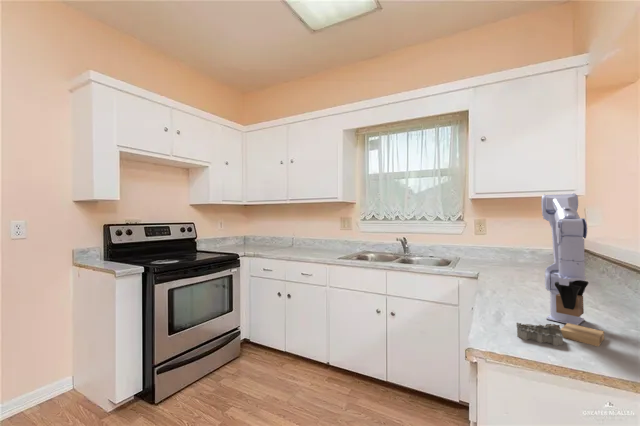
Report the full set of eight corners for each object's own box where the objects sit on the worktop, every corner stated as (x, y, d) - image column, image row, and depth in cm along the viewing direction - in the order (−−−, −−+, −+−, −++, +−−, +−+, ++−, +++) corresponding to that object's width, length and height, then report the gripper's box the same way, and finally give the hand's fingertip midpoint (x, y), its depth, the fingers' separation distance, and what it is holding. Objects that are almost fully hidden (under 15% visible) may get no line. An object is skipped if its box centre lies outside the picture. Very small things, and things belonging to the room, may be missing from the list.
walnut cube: (561, 309, 87) (561, 292, 87) (583, 313, 83) (583, 295, 83) (556, 312, 84) (555, 295, 84) (578, 316, 80) (578, 298, 80)
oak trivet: (567, 331, 88) (567, 322, 88) (604, 340, 81) (604, 331, 81) (560, 338, 83) (560, 329, 83) (598, 348, 77) (598, 338, 77)
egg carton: (561, 339, 82) (561, 325, 82) (564, 349, 76) (564, 333, 76) (516, 330, 88) (516, 316, 88) (515, 338, 82) (515, 324, 82)
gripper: (561, 256, 91) (562, 299, 91) (545, 260, 83) (546, 307, 82) (591, 258, 85) (592, 304, 85) (577, 263, 77) (578, 314, 77)
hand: (571, 306), depth 83 cm, fingers closed on walnut cube, 5 cm apart
